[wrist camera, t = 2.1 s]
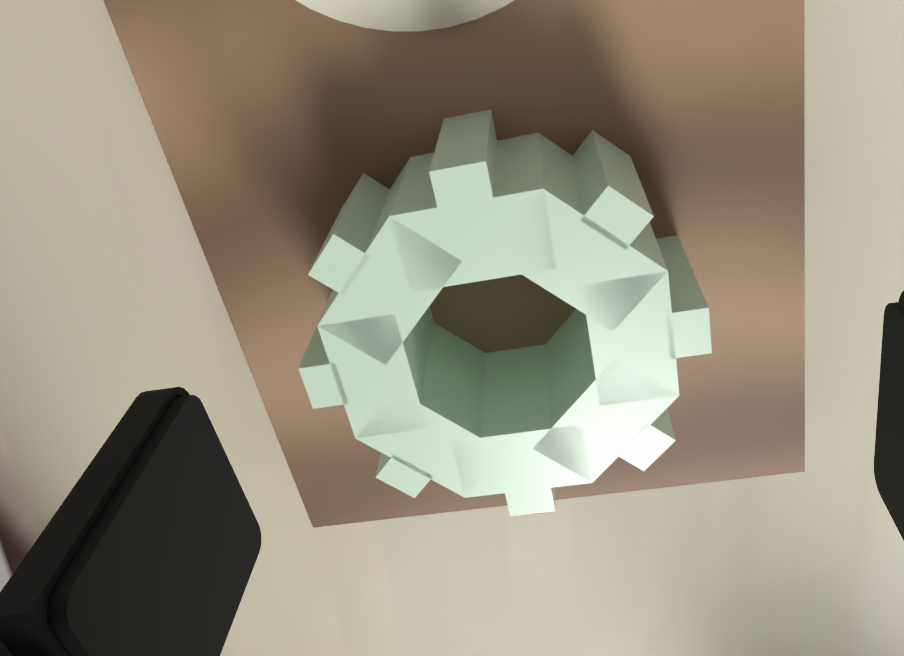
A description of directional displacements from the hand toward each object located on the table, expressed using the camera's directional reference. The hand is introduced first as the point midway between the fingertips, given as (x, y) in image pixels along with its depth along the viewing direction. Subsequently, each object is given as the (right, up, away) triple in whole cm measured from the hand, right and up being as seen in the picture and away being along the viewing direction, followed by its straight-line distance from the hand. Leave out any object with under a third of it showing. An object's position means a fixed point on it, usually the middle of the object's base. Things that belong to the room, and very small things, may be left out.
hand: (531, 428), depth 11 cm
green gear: (0, +2, +6) cm, 6 cm away
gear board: (-2, +10, +3) cm, 11 cm away
